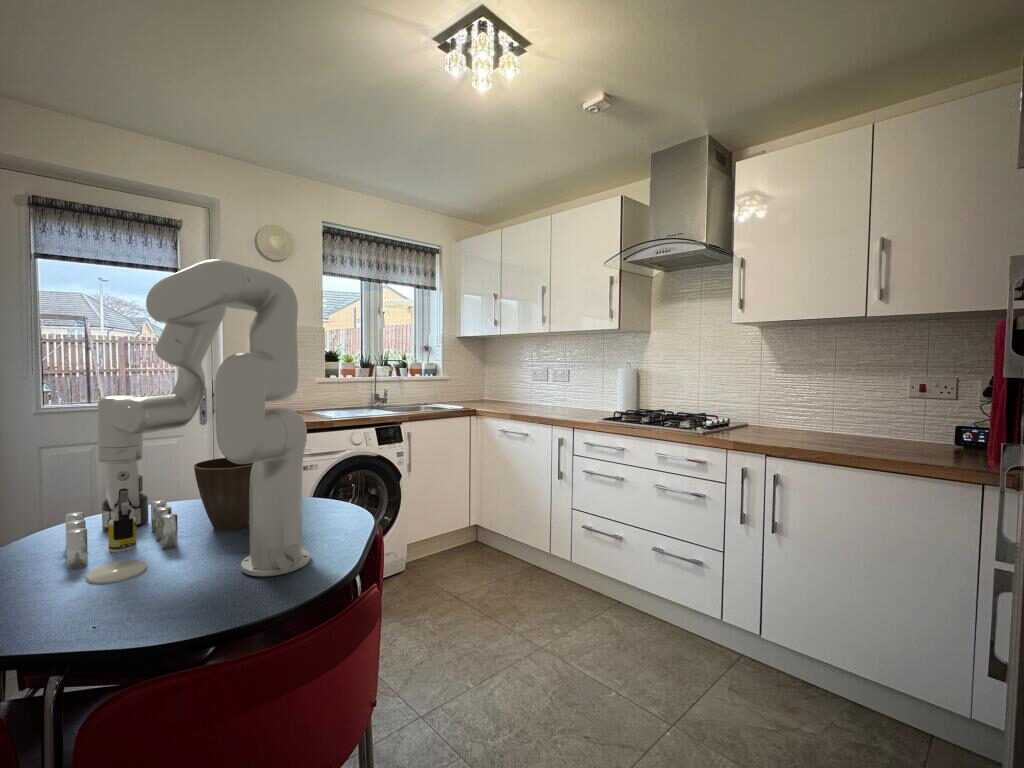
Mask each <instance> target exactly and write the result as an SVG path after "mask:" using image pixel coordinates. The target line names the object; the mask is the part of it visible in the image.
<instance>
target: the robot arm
mask: <svg viewBox="0 0 1024 768" xmlns="http://www.w3.org/2000/svg"><path fill="white" fill-rule="evenodd" d="M298 303H299V302H298V299H297V295H296V293H295V291H294V289H293V287H292V286H291V285H290V284H289V283H288V282H287V281H286V280H284V279H283V278H281V277H280V276H278V275H275V274H273V273H271V272H268V271H265V270H263V269H258V268H255V267H251V266H248V265H242V264H239V263H235V262H233V261H228V260H223V259H207V260H204V261H201V262H198V263H196V264H194V265H191V266H189V267H187V268H184V269H181V270H180V271H179V270H178V271H177V272H175V273H172V274H170V275H168V276H166V277H164V278H162V279H160V280H159V281H158V282H156V283H155V284H153V286H152V287H151V288H150V290H149V291H148V293H147V295H146V300H145V307H146V311H147V313H148V315H149V316H150V317H151V318H152V319H153V320H154V321H156V322H158V323H161V324H165V326H164V327H163V331H161V334H160V337H159V339H158V341H157V343H156V344H155V348H154V350H155V354H156V356H157V357H158V358H159V359H161V360H162V361H163V362H165V363H167V364H169V365H170V366H172V367H175V368H176V369H177V373H178V375H177V380H176V382H175V385H174V387H173V389H172V391H171V393H170V394H168V395H167V394H165V395H151V396H142V397H141V396H136V395H109V396H104V397H101V398H100V399H99V400H98V403H97V462H98V463H100V464H104V465H105V470H104V471H105V489H106V499H108V504H109V506H110V520H111V519H112V518H111V511H112V510H115V521H114V540H120V539H126V538H131V537H133V518H132V507H131V506H132V505H133V506H135V507H138V506H139V481H138V475H139V467H138V461H140V460H141V461H142V460H143V458H144V456H143V454H144V451H143V450H144V448H143V447H144V446H143V443H144V441H143V439H144V438H143V436H144V435H143V434H149V433H156V432H159V431H168V430H174V429H180V428H182V427H185V426H186V425H187V424H189V423H190V422H191V420H193V418H194V417H195V415H196V413H197V412H198V410H199V408H200V406H201V403H202V402H203V399H204V397H205V395H206V394H205V393H206V377H205V372H204V369H203V366H202V363H203V360H204V358H205V356H206V355H207V352H208V349H209V348H210V346H211V344H212V342H213V340H214V337H215V336H216V334H217V331H218V330H219V328H220V326H221V323H222V321H223V319H224V317H225V315H226V312H227V308H228V309H229V308H230V309H237V310H245V311H251V312H254V313H256V315H255V317H254V318H253V321H252V322H251V326H250V329H249V351H246V352H245V351H244V352H237V353H234V354H231V355H230V356H228V357H226V359H224V360H223V361H222V362H221V363H220V365H219V367H218V369H217V371H216V374H215V378H214V379H215V380H214V398H215V401H214V404H215V405H214V406H215V407H214V408H215V428H216V429H215V431H216V432H215V433H216V434H215V435H216V443H217V445H218V449H219V451H220V453H221V454H222V456H223V458H226V459H228V460H229V461H231V462H233V463H236V464H249V463H253V462H254V463H253V466H252V469H251V474H250V490H249V504H250V521H249V555H248V556H246V557H245V558H243V560H242V561H241V563H240V570H241V572H242V573H244V574H245V575H248V576H253V577H274V576H280V575H284V574H289V573H292V572H294V571H295V572H296V571H298V570H299V569H301V568H304V567H305V566H306V565H307V564H308V563H309V562H310V560H311V553H310V551H309V550H307V549H305V548H303V534H302V533H303V527H302V526H303V524H302V523H303V516H302V515H303V508H302V507H303V506H302V505H303V502H302V501H303V494H302V493H303V463H304V462H303V461H304V456H305V455H304V454H305V449H306V446H307V444H306V443H307V436H308V429H307V425H306V424H307V423H306V422H305V420H304V418H303V416H302V415H301V414H300V413H299V412H298V411H295V410H294V409H291V408H288V407H284V406H283V407H269V408H266V403H270V402H277V401H283V400H286V399H289V398H290V397H292V396H293V395H294V394H295V393H296V391H297V389H298V383H299V363H298V362H299V356H298V355H299V354H298V315H299V313H298V311H299V307H298V306H299V305H298ZM131 503H132V505H131ZM118 511H119V512H118Z"/></svg>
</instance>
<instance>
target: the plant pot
mask: <svg viewBox="0 0 1024 768" xmlns="http://www.w3.org/2000/svg"><path fill="white" fill-rule="evenodd" d="M253 463H254V462H253ZM253 463H249V464H236V463H233V462H231V461H229V460H228V459H226V458H225V457H220V458H213V459H209V460H202V461H199V462H197V463H195V464H193V470H194V475H195V480H196V484H197V489H198V492H199V495H200V499H201V502H202V505H203V507H204V511H205V512H206V515H207V517H208V519H209V522H210V524H211V525H212V527H213V530H215V531H218V532H229V531H230V530H232V531H235V530H236V529H237V530H239V529H240V528H241V529H243V528H246V527H247V526H248V525H249V524H250V504H249V490H250V474H251V469H252V466H253ZM245 526H246V527H245ZM237 530H236V531H237Z"/></svg>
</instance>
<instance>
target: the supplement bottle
mask: <svg viewBox="0 0 1024 768" xmlns="http://www.w3.org/2000/svg"><path fill="white" fill-rule="evenodd" d="M118 512H119V511H118ZM133 515H134V508H132V518H133V537H131V538H126V539H120V540H114V521H115V510H112V511H111V518H112V519H111V520H110V521H109V523H108V531H107V532H108V535H107V536H108V550H109V552H112V553H119V552H125V551H130V550H132V549H134V548H135V547H136V546H137V528H136V517H134V516H133Z"/></svg>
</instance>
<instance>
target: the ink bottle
mask: <svg viewBox="0 0 1024 768" xmlns="http://www.w3.org/2000/svg"><path fill="white" fill-rule="evenodd" d="M143 479H144V477H143V475H141V474H138V481H139V506H138V507H135V506H133V505H132V503H131V505H132V506H131V507H132V508H134V515H133V516H134V517H136V529H138V528H141V527H143V526H146V525H147V524H148V523H149V497H148V496H147V494H144V493H143V490H144V488H143V487H144V486H143ZM109 521H110V506H109V504H108V499H107V498H106V499H105V500H103V502H102V503H101V527H102V530H103V531H105V532H108V523H109Z"/></svg>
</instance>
